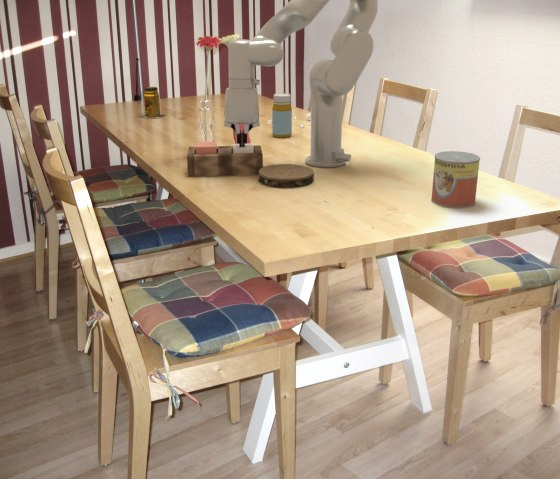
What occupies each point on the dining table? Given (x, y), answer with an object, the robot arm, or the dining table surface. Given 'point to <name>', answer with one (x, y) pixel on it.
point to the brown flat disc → (286, 175)
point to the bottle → (282, 116)
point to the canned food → (455, 179)
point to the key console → (224, 162)
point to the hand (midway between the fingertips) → (242, 145)
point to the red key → (206, 148)
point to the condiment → (152, 103)
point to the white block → (243, 148)
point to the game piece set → (294, 118)
